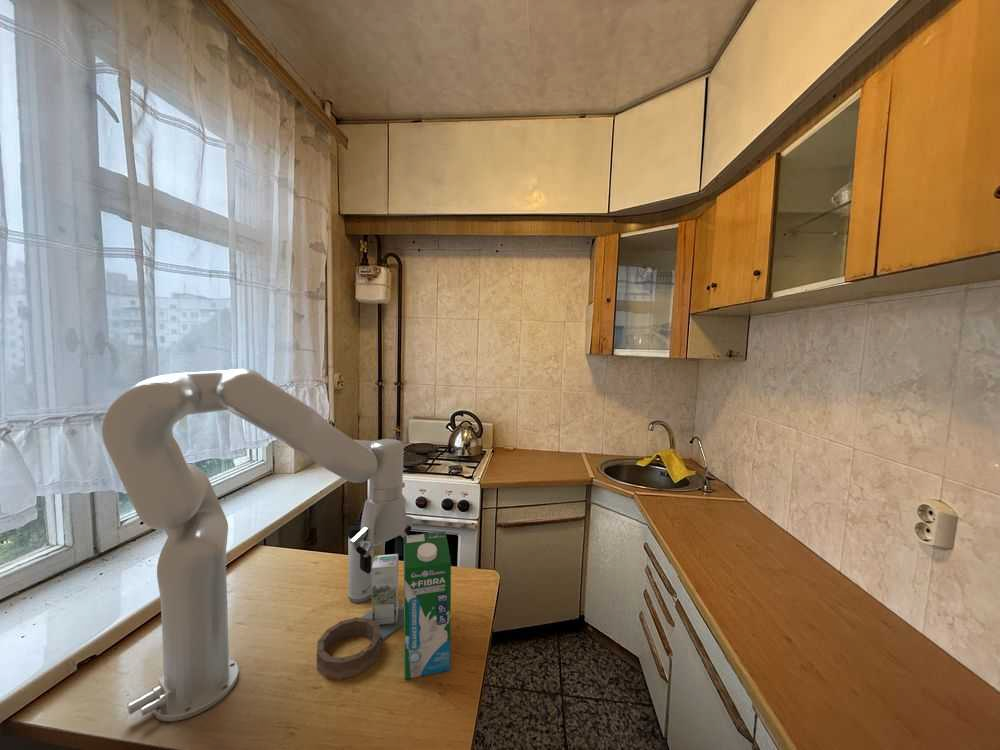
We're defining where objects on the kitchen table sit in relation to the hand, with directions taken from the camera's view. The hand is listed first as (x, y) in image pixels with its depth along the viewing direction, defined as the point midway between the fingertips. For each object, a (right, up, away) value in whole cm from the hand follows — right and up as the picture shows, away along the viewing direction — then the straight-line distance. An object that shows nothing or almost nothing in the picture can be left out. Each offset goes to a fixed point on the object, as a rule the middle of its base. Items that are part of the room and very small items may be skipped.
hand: (383, 562), depth 89 cm
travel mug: (-9, -14, +10) cm, 19 cm away
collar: (-4, -15, -10) cm, 18 cm away
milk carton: (+12, -15, -10) cm, 22 cm away
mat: (+1, -14, +1) cm, 14 cm away
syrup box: (0, -14, +1) cm, 14 cm away
